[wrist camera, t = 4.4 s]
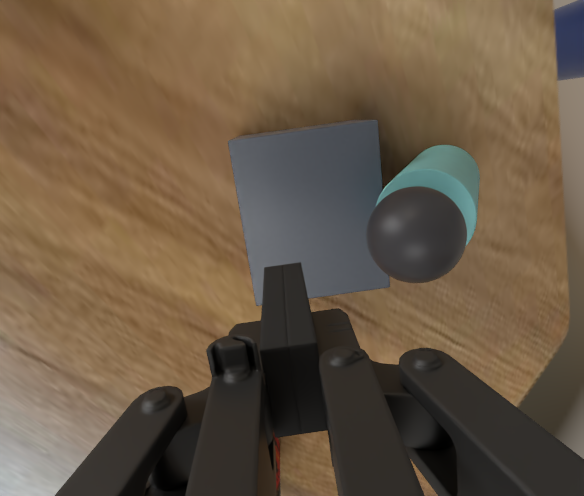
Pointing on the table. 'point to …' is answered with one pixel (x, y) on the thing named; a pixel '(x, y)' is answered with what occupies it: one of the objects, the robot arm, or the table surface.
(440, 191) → the teal cylinder with ball
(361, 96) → the table surface
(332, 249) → the gray block
